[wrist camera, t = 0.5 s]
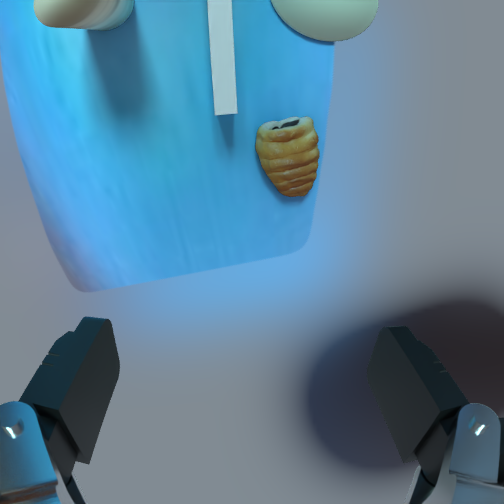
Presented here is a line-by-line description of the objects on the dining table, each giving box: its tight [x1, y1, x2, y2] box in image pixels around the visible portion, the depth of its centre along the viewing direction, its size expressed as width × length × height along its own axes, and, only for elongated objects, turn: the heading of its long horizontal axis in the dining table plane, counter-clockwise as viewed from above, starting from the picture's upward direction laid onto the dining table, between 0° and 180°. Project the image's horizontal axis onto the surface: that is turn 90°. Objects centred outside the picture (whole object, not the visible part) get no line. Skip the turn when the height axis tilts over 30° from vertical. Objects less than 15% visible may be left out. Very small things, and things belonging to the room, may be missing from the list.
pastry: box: [255, 116, 319, 197], centre depth 34 cm, size 9×7×4 cm
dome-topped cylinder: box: [34, 0, 134, 31], centre depth 18 cm, size 6×6×11 cm
